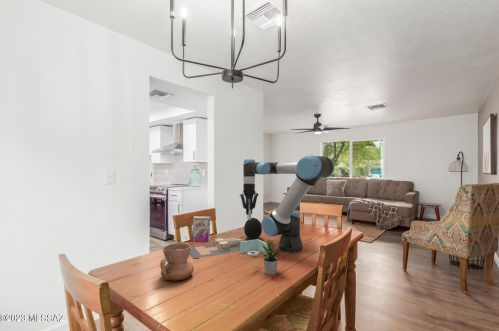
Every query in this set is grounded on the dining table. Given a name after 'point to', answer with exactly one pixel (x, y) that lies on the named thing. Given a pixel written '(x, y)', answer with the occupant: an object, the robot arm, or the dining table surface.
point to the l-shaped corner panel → (252, 247)
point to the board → (209, 250)
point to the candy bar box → (201, 229)
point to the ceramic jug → (176, 262)
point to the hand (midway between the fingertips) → (249, 219)
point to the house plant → (270, 257)
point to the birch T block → (226, 243)
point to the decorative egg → (253, 229)
